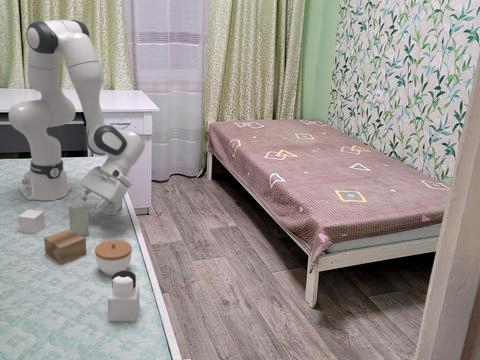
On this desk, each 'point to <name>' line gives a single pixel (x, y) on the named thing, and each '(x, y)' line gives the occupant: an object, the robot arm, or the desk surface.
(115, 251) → the lidded jar
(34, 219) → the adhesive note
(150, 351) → the desk surface
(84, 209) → the tea tin
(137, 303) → the medicine bottle
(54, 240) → the walnut block
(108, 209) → the syrup box
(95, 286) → the desk surface
